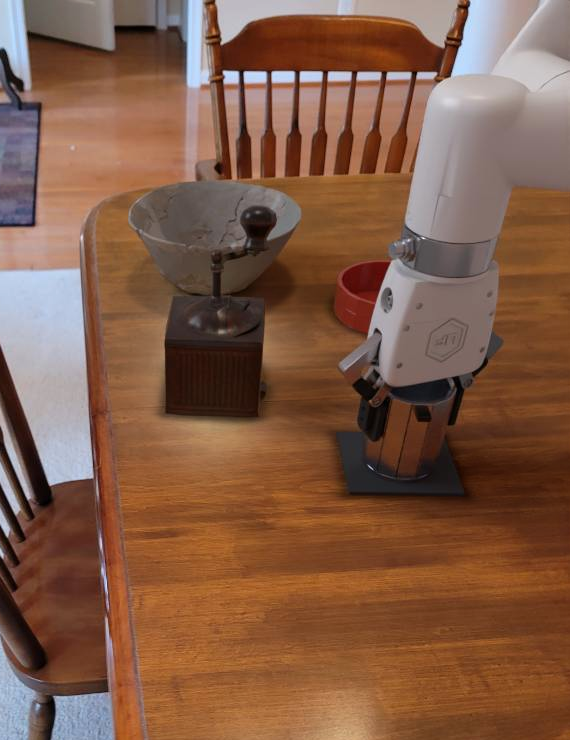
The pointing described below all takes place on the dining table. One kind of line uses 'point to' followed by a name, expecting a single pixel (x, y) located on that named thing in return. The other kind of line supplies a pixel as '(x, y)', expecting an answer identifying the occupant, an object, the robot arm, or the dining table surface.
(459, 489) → the rubber mat
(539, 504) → the dining table surface
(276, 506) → the dining table surface
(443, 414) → the steel pot
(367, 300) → the shallow red bowl
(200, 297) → the manual coffee grinder
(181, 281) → the ceramic bowl
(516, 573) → the dining table surface
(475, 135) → the robot arm
